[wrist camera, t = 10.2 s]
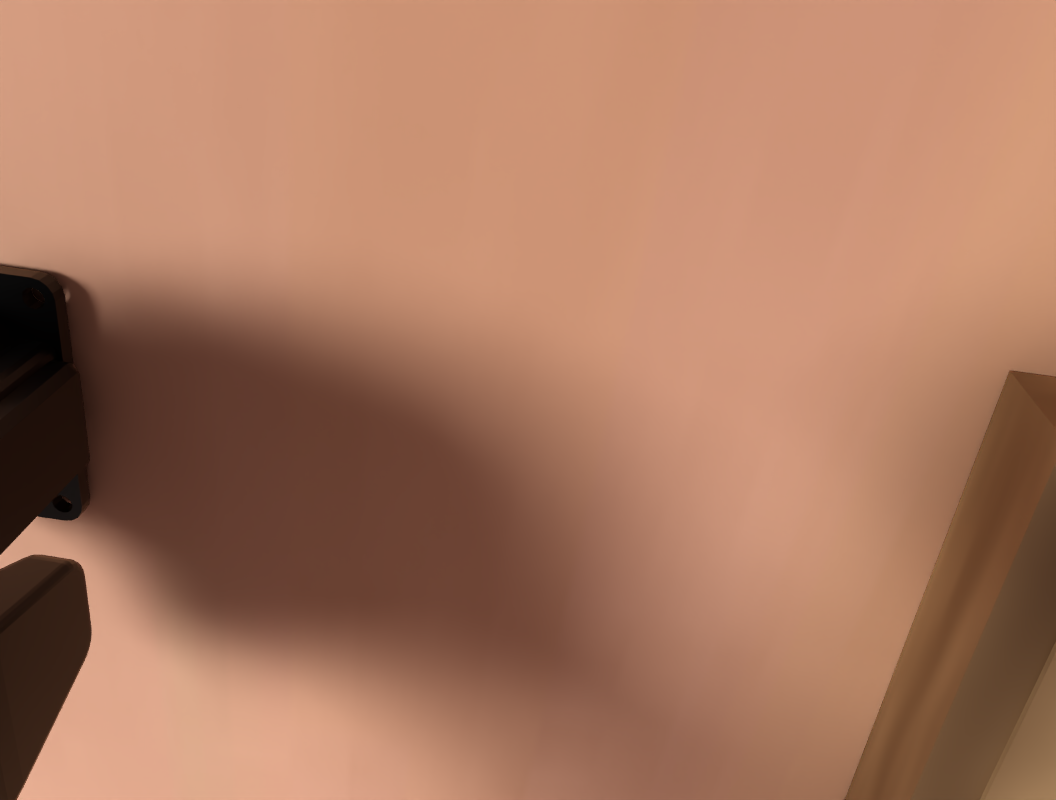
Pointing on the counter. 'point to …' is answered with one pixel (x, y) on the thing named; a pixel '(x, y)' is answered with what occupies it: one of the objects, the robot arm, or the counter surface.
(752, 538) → the counter surface
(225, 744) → the counter surface
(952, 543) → the base board
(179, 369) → the counter surface
